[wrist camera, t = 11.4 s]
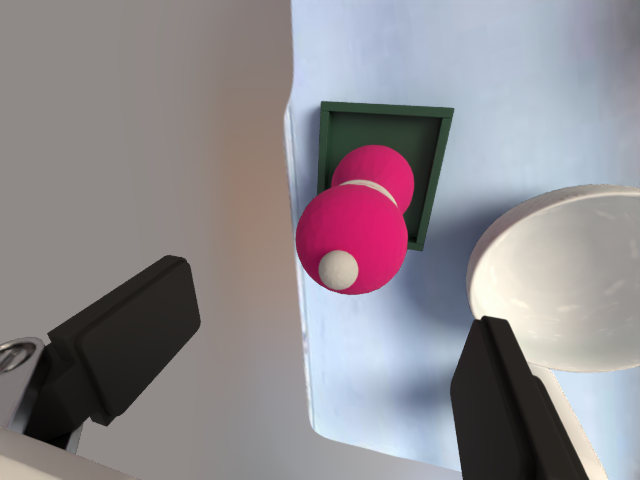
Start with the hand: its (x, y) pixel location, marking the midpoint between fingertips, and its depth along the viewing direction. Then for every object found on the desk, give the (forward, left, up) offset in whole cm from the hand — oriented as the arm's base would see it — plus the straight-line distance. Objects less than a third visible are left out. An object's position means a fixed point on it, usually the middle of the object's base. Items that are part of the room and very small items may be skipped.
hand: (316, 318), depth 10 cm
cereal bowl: (+6, +18, -24) cm, 30 cm away
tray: (0, 0, -24) cm, 24 cm away
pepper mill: (0, 0, -23) cm, 23 cm away
